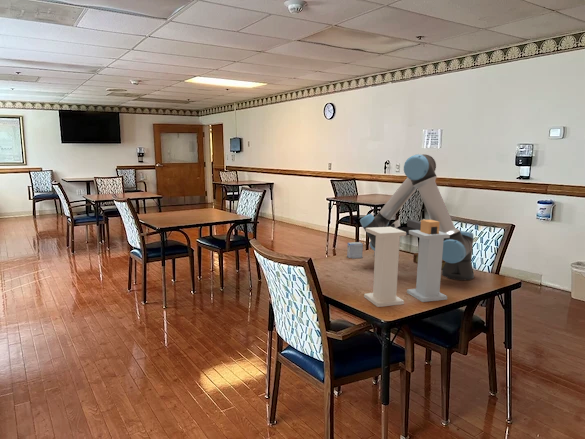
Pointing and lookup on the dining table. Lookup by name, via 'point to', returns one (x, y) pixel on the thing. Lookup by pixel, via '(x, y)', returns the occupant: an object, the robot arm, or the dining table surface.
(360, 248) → the medicine box
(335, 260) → the dining table surface
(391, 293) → the stand
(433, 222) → the orange and black bar
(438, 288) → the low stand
